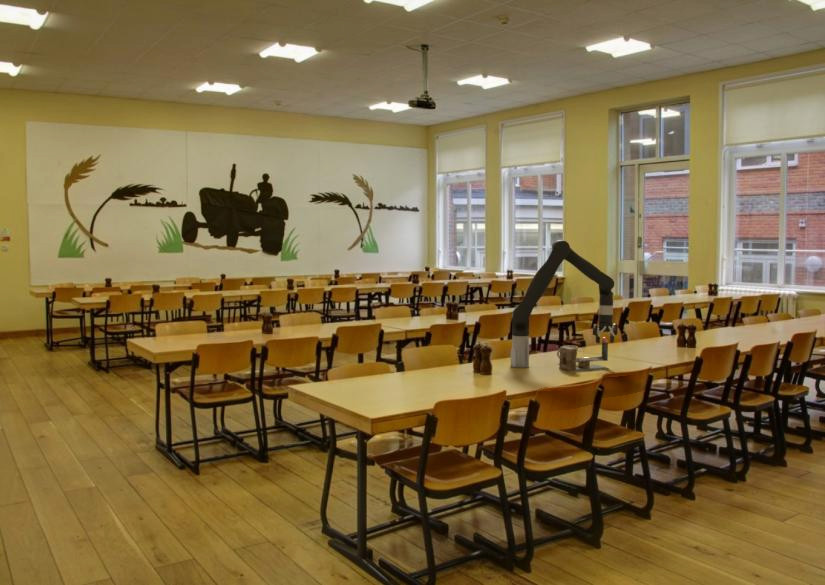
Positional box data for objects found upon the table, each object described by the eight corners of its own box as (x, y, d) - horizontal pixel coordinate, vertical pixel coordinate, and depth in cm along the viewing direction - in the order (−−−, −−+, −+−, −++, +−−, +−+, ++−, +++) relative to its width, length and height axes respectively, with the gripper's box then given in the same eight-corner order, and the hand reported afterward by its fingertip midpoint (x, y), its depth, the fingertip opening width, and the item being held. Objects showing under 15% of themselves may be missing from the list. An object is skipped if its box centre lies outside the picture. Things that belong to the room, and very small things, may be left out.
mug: (573, 365, 401) (574, 347, 400) (553, 363, 409) (553, 345, 408) (580, 363, 408) (580, 346, 407) (559, 361, 415) (559, 344, 415)
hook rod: (575, 363, 387) (576, 338, 386) (571, 362, 391) (572, 338, 390) (609, 360, 394) (610, 337, 393) (605, 359, 397) (606, 336, 396)
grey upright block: (569, 371, 383) (569, 349, 382) (559, 368, 392) (559, 346, 391) (575, 371, 384) (576, 348, 383) (566, 368, 393) (566, 346, 393)
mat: (569, 371, 382) (569, 370, 382) (559, 368, 393) (559, 367, 393) (608, 369, 390) (608, 368, 390) (597, 365, 400) (597, 364, 400)
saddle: (583, 369, 388) (583, 360, 388) (578, 368, 393) (578, 359, 393) (589, 369, 389) (589, 360, 389) (584, 367, 394) (584, 358, 394)
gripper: (598, 314, 387) (597, 344, 389) (620, 313, 392) (620, 343, 393) (590, 313, 394) (589, 342, 396) (612, 312, 399) (612, 341, 400)
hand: (604, 343), depth 394 cm, fingers open, 8 cm apart
